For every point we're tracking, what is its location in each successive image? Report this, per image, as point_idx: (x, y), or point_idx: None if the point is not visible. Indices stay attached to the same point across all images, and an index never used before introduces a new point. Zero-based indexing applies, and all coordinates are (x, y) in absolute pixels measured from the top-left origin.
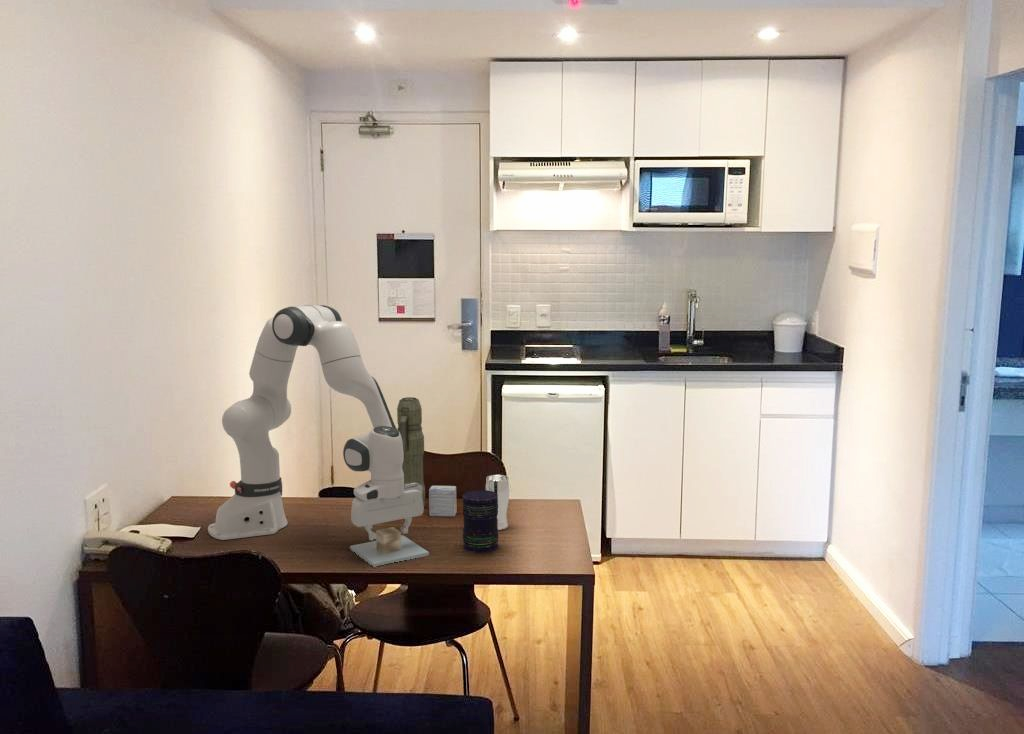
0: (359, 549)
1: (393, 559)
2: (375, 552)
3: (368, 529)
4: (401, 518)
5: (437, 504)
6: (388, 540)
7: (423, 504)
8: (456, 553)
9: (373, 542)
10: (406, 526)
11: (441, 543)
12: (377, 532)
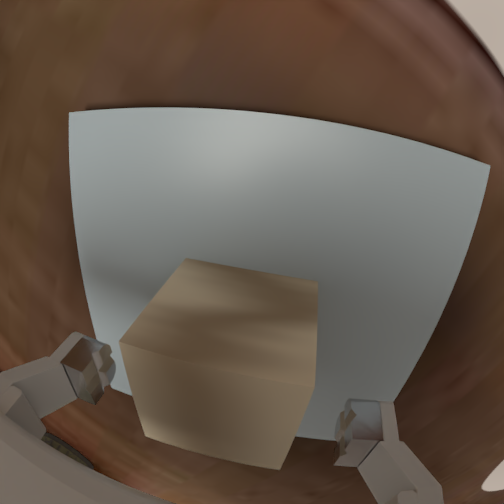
0: None
1: (340, 129)
2: (348, 330)
3: (434, 484)
4: (37, 446)
5: None
6: (270, 334)
7: (41, 438)
8: (2, 81)
9: None
10: (54, 368)
11: (8, 229)
12: (285, 452)
